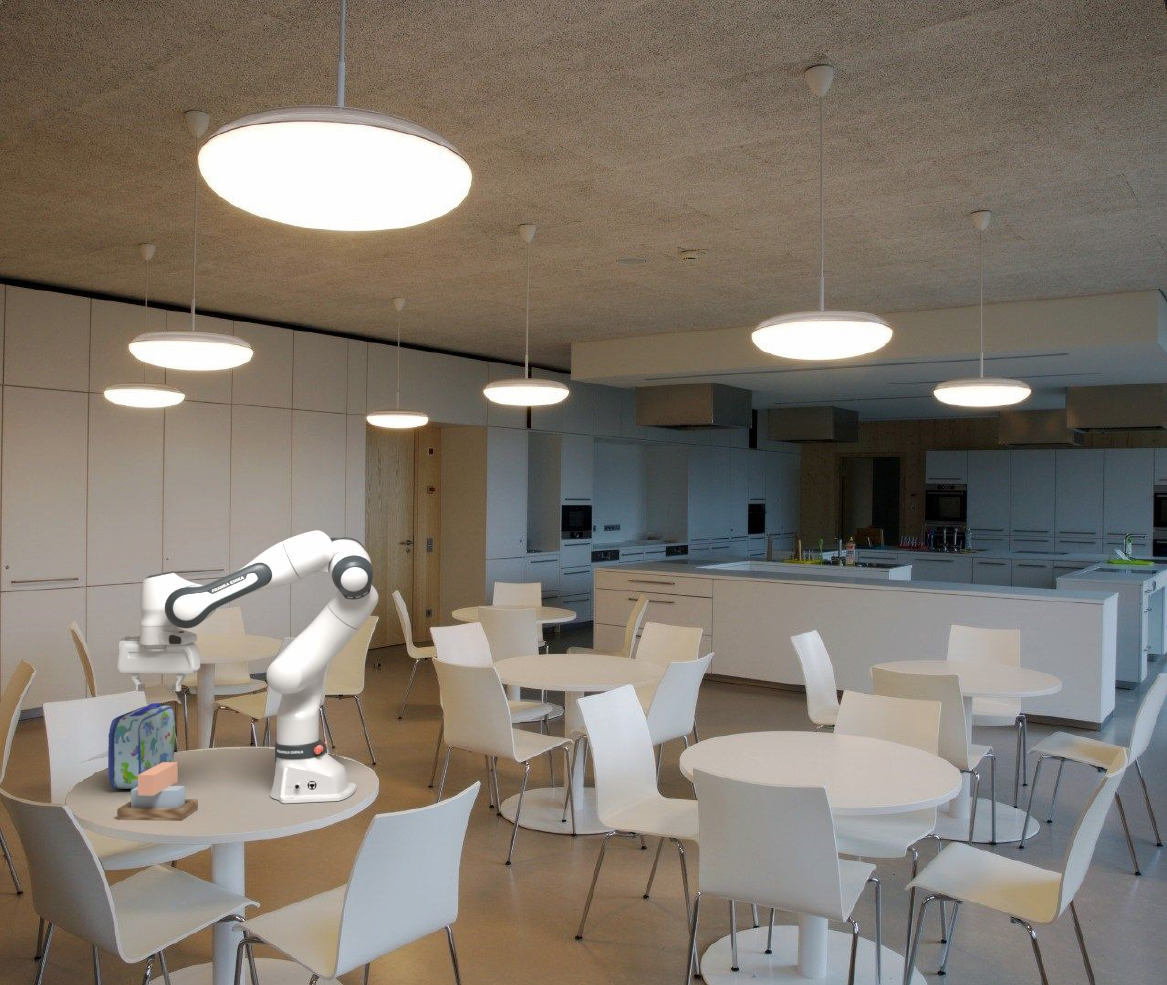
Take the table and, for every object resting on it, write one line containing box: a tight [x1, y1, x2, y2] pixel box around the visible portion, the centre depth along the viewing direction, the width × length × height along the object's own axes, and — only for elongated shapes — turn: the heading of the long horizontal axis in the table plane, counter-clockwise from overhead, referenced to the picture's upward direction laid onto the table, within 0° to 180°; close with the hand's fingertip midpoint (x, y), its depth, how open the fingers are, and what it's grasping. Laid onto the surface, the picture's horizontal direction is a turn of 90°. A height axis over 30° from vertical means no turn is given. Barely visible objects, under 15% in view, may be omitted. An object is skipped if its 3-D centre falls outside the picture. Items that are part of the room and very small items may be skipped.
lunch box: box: [107, 702, 176, 790], centre depth 266 cm, size 26×11×21 cm, turn 3°
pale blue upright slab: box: [130, 785, 186, 808], centre depth 236 cm, size 12×4×6 cm, turn 85°
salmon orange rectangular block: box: [138, 761, 179, 796], centre depth 236 cm, size 12×4×5 cm, turn 177°
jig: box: [116, 798, 199, 821], centre depth 235 cm, size 16×8×3 cm, turn 87°
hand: (158, 691), depth 236 cm, fingers open, 8 cm apart
